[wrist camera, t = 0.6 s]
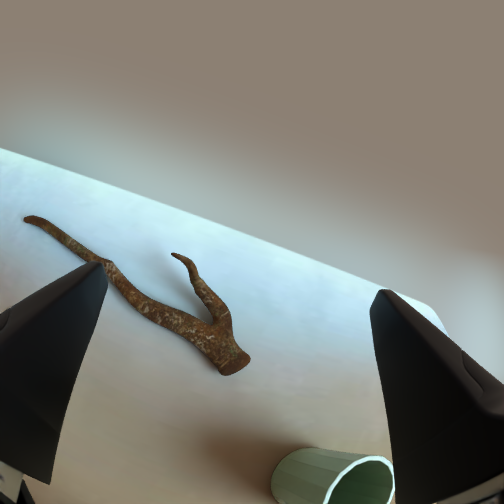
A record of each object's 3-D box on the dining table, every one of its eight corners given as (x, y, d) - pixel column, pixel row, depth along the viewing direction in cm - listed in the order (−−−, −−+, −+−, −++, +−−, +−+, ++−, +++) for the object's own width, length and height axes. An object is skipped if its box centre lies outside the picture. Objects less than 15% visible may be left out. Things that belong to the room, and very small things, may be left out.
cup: (335, 496, 17) (394, 512, 11) (272, 515, 15) (322, 547, 8) (333, 440, 20) (395, 443, 14) (268, 454, 18) (320, 472, 12)
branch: (26, 224, 20) (14, 207, 18) (62, 184, 23) (55, 164, 21) (238, 378, 21) (249, 378, 19) (268, 320, 24) (282, 312, 22)
